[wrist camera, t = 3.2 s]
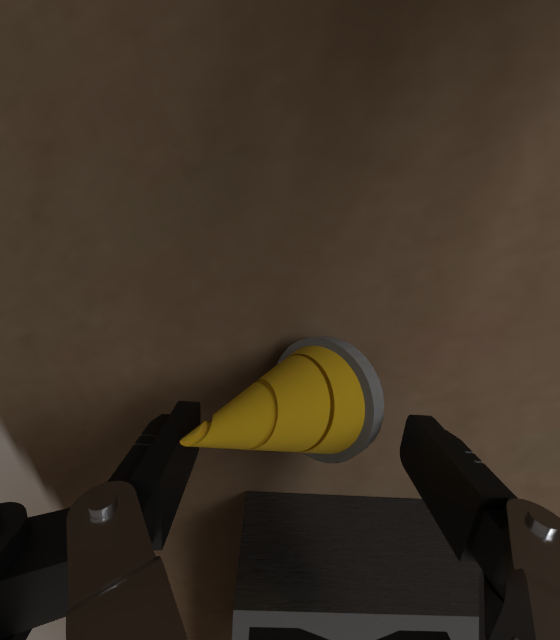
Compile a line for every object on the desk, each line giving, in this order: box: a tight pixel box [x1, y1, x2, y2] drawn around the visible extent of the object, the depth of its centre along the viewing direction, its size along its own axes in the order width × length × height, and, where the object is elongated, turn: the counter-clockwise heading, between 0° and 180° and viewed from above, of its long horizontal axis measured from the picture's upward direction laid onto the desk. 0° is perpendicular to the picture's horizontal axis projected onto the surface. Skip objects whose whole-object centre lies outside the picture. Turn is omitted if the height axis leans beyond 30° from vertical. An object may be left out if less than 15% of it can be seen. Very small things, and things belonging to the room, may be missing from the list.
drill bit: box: [180, 337, 384, 463], centre depth 11 cm, size 5×5×10 cm
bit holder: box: [232, 492, 482, 640], centre depth 15 cm, size 12×12×6 cm
